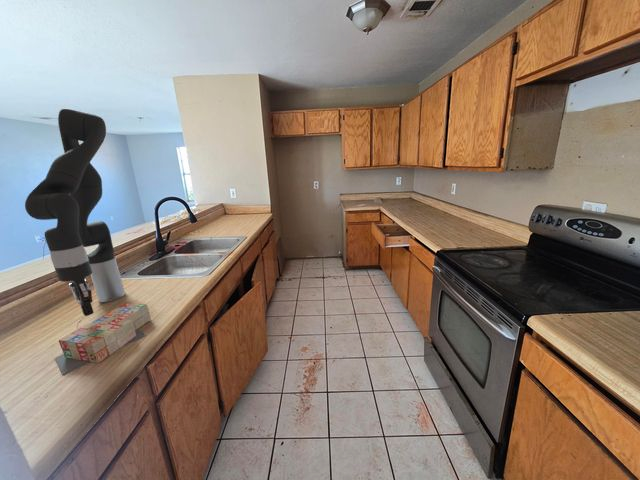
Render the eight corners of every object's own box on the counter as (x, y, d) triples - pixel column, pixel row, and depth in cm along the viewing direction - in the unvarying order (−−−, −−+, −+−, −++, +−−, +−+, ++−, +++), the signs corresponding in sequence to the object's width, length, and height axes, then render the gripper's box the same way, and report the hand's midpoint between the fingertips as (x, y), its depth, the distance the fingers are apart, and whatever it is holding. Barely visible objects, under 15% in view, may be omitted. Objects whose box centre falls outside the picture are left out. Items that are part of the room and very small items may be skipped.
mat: (54, 358, 76) (54, 358, 76) (133, 324, 91) (133, 324, 91) (63, 375, 69) (62, 374, 69) (146, 335, 84) (145, 334, 84)
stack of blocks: (125, 302, 93) (154, 304, 91) (130, 318, 95) (158, 320, 92) (57, 340, 73) (92, 344, 71) (64, 359, 75) (99, 363, 72)
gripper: (49, 262, 77) (67, 313, 82) (58, 270, 69) (78, 327, 74) (82, 254, 83) (97, 303, 87) (94, 262, 75) (110, 314, 80)
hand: (88, 314), depth 81 cm, fingers closed
